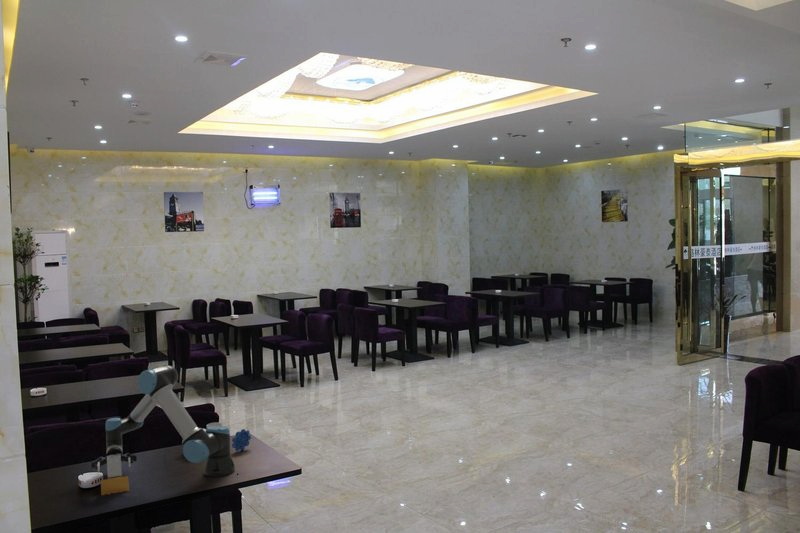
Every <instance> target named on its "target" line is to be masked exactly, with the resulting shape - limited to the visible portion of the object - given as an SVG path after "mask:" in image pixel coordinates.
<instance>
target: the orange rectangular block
mask: <svg viewBox="0 0 800 533" xmlns="http://www.w3.org/2000/svg"><path fill="white" fill-rule="evenodd" d="M129 478H130V477H129V475H124V476H122V477H117V478H111V479H108V478H106V479H100V493H101V496H106V495H105V494H107V495H112V494H111V493H113V494H117V493H118V492H119V493H122V492H124V491H125V492H129V491H130V482H129V481H130V480H129Z"/></svg>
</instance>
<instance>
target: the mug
mask: <svg viewBox="0 0 800 533" xmlns="http://www.w3.org/2000/svg"><path fill="white" fill-rule="evenodd" d="M214 426H223V423H221V422H210V423H207V424H206V428H208V427H214Z"/></svg>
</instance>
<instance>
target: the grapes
mask: <svg viewBox="0 0 800 533" xmlns="http://www.w3.org/2000/svg"><path fill="white" fill-rule="evenodd" d="M250 434H251V433H250V430H246V429H245V428H242V429H241V430H240V431H237V432H236V433H235V436H233V437H232V439H231V442H232V444H231V447H232V449H234V450H235V452H239V451H245V449H246V447H248V446H249V445H250V441H251V439H252V435H250Z"/></svg>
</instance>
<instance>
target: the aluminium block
mask: <svg viewBox="0 0 800 533" xmlns="http://www.w3.org/2000/svg"><path fill="white" fill-rule="evenodd" d="M106 468H107V470H106V471H107V479H111V478H117V477H123V476H122V475H123V474H122V462H121V454H117V455H110V456H107V464H106Z"/></svg>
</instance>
